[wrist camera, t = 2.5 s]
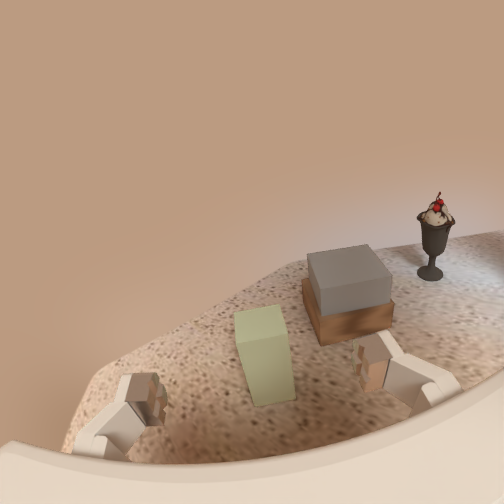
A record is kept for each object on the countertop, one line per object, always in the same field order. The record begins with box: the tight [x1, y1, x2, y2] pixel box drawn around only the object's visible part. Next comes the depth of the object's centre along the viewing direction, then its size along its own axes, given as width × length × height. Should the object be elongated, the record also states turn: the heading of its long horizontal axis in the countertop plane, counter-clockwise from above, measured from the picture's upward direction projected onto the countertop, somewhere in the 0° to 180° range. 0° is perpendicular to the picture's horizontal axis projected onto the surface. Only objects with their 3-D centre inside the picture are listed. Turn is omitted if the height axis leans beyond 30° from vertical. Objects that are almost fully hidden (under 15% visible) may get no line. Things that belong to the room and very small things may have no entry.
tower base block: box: [302, 278, 394, 346], centre depth 39 cm, size 10×10×4 cm
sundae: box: [417, 192, 455, 281], centre depth 40 cm, size 7×7×15 cm
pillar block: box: [234, 304, 296, 407], centre depth 28 cm, size 4×4×10 cm
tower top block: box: [307, 244, 392, 316], centre depth 37 cm, size 9×9×4 cm
